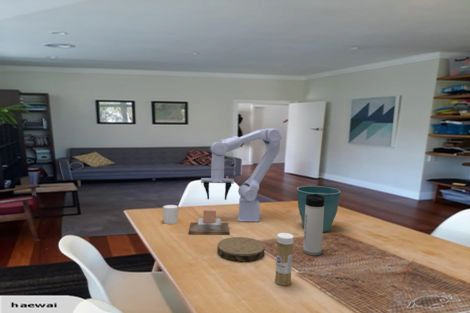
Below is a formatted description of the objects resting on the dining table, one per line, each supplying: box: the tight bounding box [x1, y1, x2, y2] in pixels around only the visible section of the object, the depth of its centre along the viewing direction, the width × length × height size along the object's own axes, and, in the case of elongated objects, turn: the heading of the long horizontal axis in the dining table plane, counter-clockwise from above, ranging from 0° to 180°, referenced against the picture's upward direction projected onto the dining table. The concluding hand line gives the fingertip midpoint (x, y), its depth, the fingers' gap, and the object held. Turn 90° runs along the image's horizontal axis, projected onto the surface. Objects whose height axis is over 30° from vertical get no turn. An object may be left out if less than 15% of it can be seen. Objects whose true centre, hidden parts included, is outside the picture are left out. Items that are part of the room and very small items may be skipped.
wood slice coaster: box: [216, 236, 265, 263], centre depth 110 cm, size 16×16×3 cm
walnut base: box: [188, 217, 230, 236], centre depth 133 cm, size 16×12×4 cm
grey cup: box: [162, 204, 179, 225], centre depth 142 cm, size 7×7×7 cm
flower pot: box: [296, 185, 341, 233], centre depth 140 cm, size 18×18×17 cm
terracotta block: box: [202, 206, 217, 223], centre depth 133 cm, size 5×5×5 cm
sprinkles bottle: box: [274, 232, 295, 286], centre depth 90 cm, size 5×5×13 cm
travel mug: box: [302, 194, 325, 256], centre depth 112 cm, size 6×7×20 cm
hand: (216, 199), depth 146 cm, fingers open, 7 cm apart
